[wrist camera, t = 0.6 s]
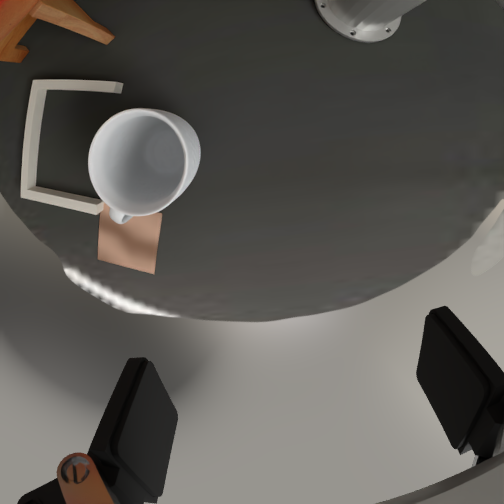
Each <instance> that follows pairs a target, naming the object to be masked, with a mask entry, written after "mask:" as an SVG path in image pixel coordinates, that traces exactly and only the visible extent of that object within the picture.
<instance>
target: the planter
mask: <svg viewBox="0 0 504 504" xmlns="http://www.w3.org/2000/svg"><path fill="white" fill-rule="evenodd" d="M37 18H38V19H41V20H44V21H47V22H50V23H53V24H56V25H58V26H61V27H64V28H66V29H69V30H72V31H74V32H77V33H79V34H82V35H84V36H87V37H89V38H92V39H94V40H96V41H99V42H101V43H103V44H106V45H107V44H108V43H109V42H110V41H112V40H113V39H114V38H115V36H114V35H113V34H112V33H111V32H110V31H109V30H108V29H107V28H105V27H104V26H102V25H100V24H98V23H96V22H94V21H93V20H92V19H91V18H90V17H89V16H88V15H87V14H86V13H85V12H84V11H83V10H82V9H81V8H80V7H79V6H78V5H77V4H76V3H75V2H74V1H73V0H0V61H7V62H16V63H21V62H22V60H23V59H24V58H25V56H26V55H27V53H28V52H29V50H28V49H27V48H26V46H22V45H17V44H18V42H19V41H20V40H21V38H22V37H23V36H24V34H25V33H26V32H27V31H28V29H29V28H30V27H31V25H32V24H33V23H34V22H35V21H36V19H37Z"/></svg>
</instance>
